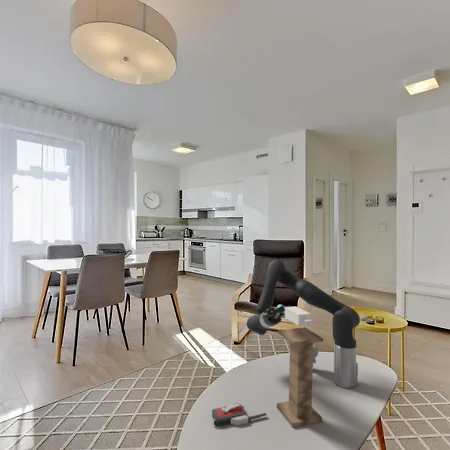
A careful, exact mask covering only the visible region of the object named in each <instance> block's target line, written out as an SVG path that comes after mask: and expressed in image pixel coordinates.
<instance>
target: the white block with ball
mask: <svg viewBox="0 0 450 450" xmlns="http://www.w3.org/2000/svg"><path fill="white" fill-rule="evenodd" d="M281 306H284V309H285V311H284V312H282V313H284V314H285V316H284V318H285V319H287V320H288V321H290V322H291V323H293V324H295V325H296V326H298V327H299V326H310V325H311V324H313V320H312V319H311V313H310V312H308V311H306V310H305V309H302V308H300V307H298V306H291V307H286V306H285V305H283V304H278V305H277V306H276V308H279V307H281Z"/></svg>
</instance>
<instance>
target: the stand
mask: <svg viewBox="0 0 450 450" xmlns="http://www.w3.org/2000/svg"><path fill="white" fill-rule="evenodd" d="M277 333H278V334H279V335H280V336H282V337H283V338H284V339H286V341H288V342H289V369H288V371H289V373H288V377H289V378H288V379H289V380H288V381H289V383H288V387H289V388H288V401H283V402H277V403H276V408H277V410H278V411H279V412H280V413H281V414H282V416H283V417H284V418H285V420H286V421H287V422H288V424H289V425H290V426H291V427H292V428H297V427H301V426H306V425H311V424H316V423H320V422H322V421H323V417H322V416H321V414H320V413H319V412H318V411H316V409H314V407H313V368H312V366H313V367H314V362H313V345H314V343H321V342H324V338H323V337H322V336H320V335H318V334H316V333H315V332H313V331H311V330H310V329H308V328H307V327H298V328H287V329H285V328H284V329H278V330H277Z"/></svg>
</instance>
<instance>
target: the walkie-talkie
mask: <svg viewBox="0 0 450 450" xmlns="http://www.w3.org/2000/svg"><path fill="white" fill-rule="evenodd" d="M247 413H248V411H246V409H245V407H244V405H242V404H241V403H239V402H235V403H231V404H228V405H226V406H222V407H216V408H213V409H212V410H211V417H212V418H213V419H212V420H213V425H214V426H218V427H220V426H224V425H228V424H230V425H233V426H242V425H246V424H247V425H248V424H249V421H252V420H255V419H256V420H257V419H260V418H262V417H266V416H267V413H266V412H264V413H259V414H255V415H250V416H248V415H247Z"/></svg>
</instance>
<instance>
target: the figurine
mask: <svg viewBox="0 0 450 450" xmlns="http://www.w3.org/2000/svg"><path fill="white" fill-rule="evenodd" d="M318 355H319V349H318V347H317V346H316V345H315V344H313V364H317V360H316V357H318ZM313 368H314V365H313V366H312V369H313Z"/></svg>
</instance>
